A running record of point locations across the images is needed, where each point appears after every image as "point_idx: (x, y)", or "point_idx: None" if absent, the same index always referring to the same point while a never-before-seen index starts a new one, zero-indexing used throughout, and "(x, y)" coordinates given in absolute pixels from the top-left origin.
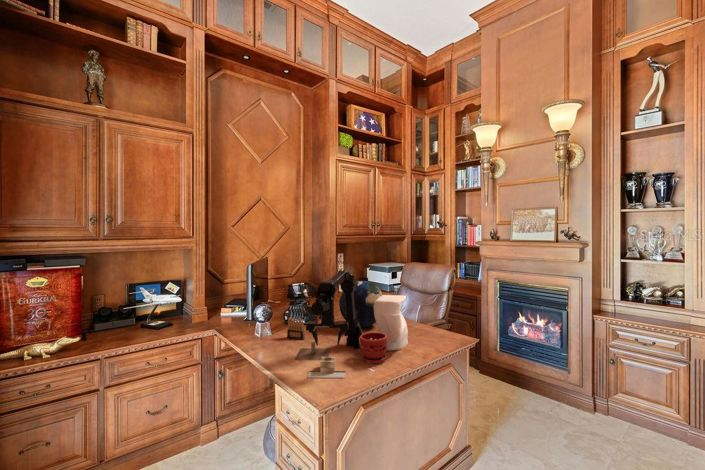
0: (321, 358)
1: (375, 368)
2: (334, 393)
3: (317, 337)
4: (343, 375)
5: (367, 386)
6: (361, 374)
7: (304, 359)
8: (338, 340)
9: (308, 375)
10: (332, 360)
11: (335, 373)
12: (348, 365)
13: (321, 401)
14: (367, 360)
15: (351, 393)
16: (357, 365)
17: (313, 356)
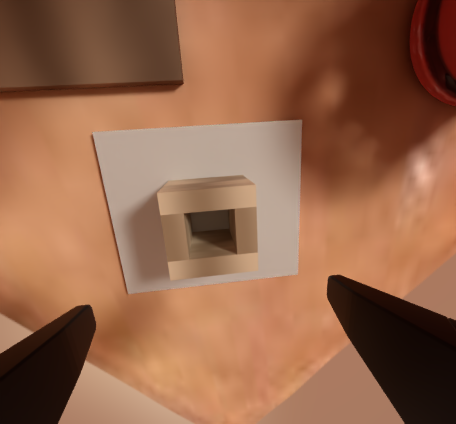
0: (163, 228)
1: (442, 155)
2: (263, 376)
3: (10, 384)
4: (290, 258)
5: None
6: (367, 228)
7: (6, 73)
8: (384, 374)
9: (126, 278)
10: (246, 252)
11: None
12: (312, 125)
13: (229, 419)
14: (436, 93)
15: (318, 367)
16: (360, 122)
17: (51, 1)
